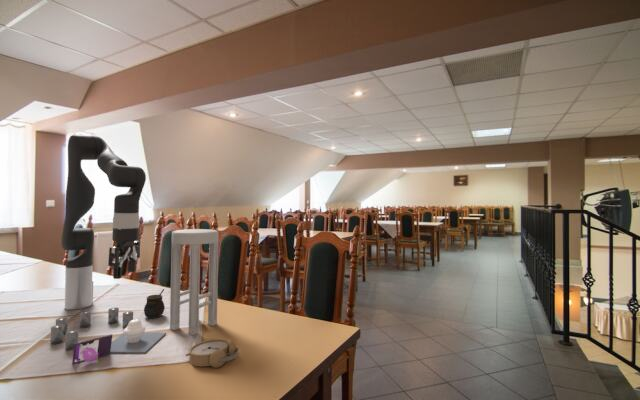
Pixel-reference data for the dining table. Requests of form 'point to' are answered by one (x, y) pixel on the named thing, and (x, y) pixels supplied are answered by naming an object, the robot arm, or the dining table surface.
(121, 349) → the rubber mat
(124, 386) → the dining table surface
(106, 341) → the game card
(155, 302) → the mate gourd
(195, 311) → the stool
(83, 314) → the posts
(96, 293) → the dining table surface
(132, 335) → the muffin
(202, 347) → the alarm clock
